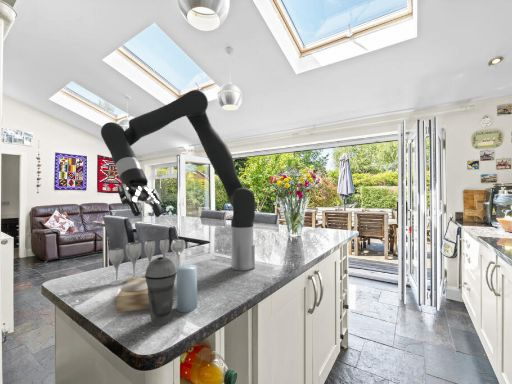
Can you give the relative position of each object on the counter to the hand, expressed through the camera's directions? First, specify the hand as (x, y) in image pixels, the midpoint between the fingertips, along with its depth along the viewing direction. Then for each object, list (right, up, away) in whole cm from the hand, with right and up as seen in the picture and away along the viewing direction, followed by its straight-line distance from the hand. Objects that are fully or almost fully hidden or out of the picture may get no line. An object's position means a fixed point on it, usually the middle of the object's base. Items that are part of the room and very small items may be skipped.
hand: (149, 215), depth 79 cm
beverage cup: (+10, -25, -17) cm, 32 cm away
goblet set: (-7, -25, +18) cm, 31 cm away
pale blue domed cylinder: (+14, -24, -10) cm, 30 cm away
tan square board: (+1, -24, -4) cm, 25 cm away
